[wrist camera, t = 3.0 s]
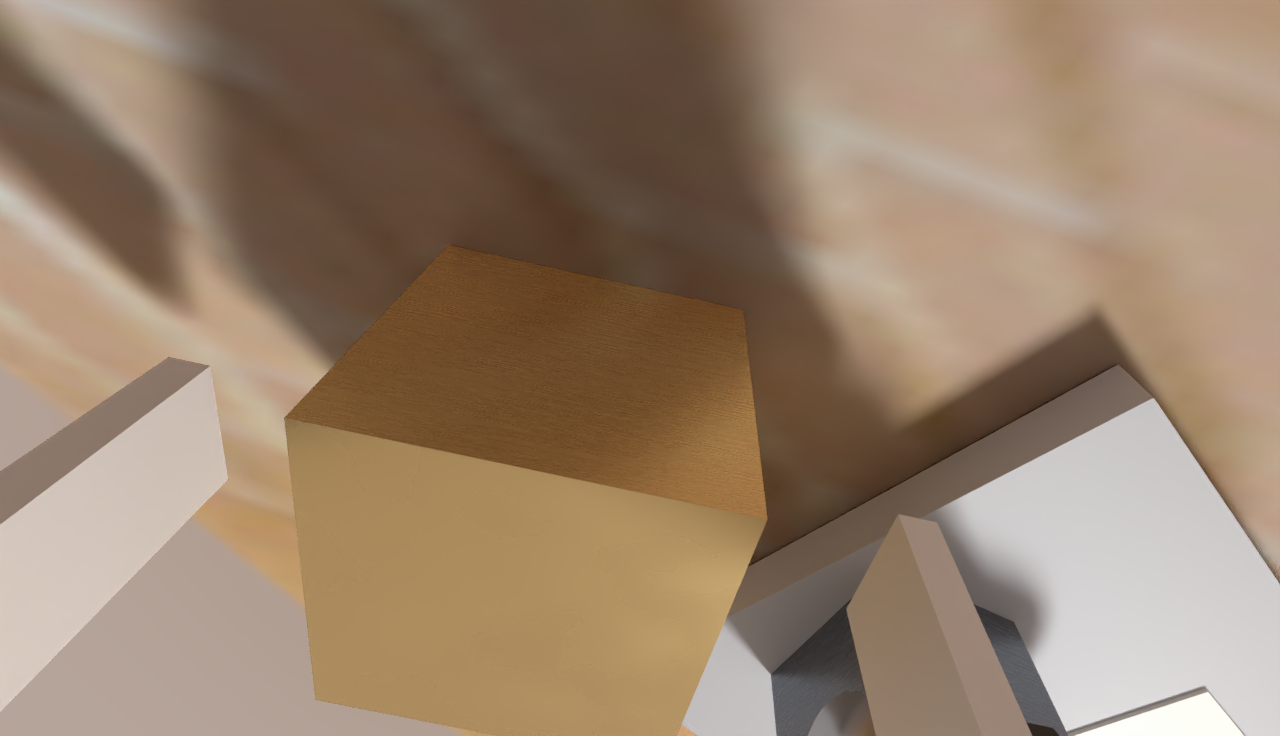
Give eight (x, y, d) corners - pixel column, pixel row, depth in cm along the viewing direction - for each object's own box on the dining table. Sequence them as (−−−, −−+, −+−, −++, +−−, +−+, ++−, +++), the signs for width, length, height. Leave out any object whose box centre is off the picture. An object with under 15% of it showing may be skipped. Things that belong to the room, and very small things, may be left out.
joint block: (439, 469, 16) (315, 699, 11) (450, 243, 13) (283, 417, 8) (675, 519, 16) (663, 768, 11) (742, 307, 13) (767, 519, 8)
